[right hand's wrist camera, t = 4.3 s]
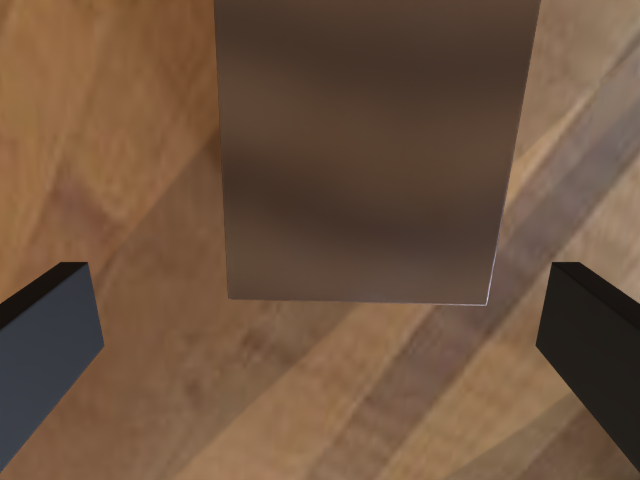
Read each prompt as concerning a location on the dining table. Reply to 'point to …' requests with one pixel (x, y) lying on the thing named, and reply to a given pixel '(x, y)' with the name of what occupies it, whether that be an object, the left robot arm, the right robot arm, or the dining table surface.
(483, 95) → the cabinet
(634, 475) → the dining table surface
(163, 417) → the dining table surface
